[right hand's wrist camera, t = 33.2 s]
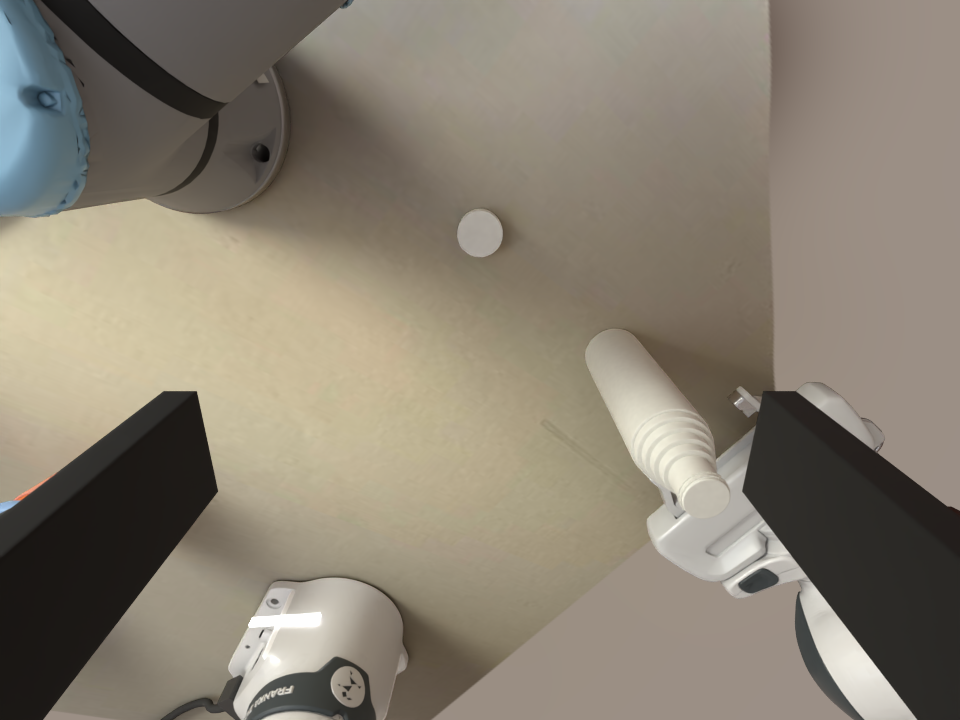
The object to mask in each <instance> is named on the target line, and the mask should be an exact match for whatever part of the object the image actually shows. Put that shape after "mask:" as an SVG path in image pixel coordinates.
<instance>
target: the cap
mask: <svg viewBox="0 0 960 720" xmlns="http://www.w3.org/2000/svg"><path fill="white" fill-rule="evenodd" d="M457 238H458V242H459V244H460V246H461V248H462V249H463V250H464V251H465V252H466V253H468V254H469V255H471V256H474V257H486V256H489V255H491V254H492V253H494V252H495V251H496V250H497V249H498V248H499V246H500V244H501V242H502V238H503V230H502V226H501V223H500V221H499V219H498V217H497V216H496V215H495V214H494V213H492V212H491V211H489V210H486V209H474V210H471V211H469V212H468V213H466V214H465V215H464V216H463V217H462V219H461V220H460V223H459V226H458V230H457Z"/></svg>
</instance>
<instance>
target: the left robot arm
mask: <svg viewBox="0 0 960 720" xmlns="http://www.w3.org/2000/svg"><path fill="white" fill-rule="evenodd" d="M796 392H798V393H799V394H800V395H802V396H803V397H804V398H806V399H807V400H808V401H810V402H811V403H812V404H814V405H815V406H816V407H817V408H819V409H820V410H821V411H823V412H824V413H825V414H827V415H828V416H829V417H831V418H832V419H833V420H834V421H836V422H837V423H838V424H840V425H841V426H842V427H844V428H845V429H846V430H848V431H849V432H850V433H852V434H853V435H854V436H855V437H857V438H858V439H859V440H861V441H862V442H863V443H865V444H866V445H867V446H869V447H870V448H871V449H872V450H874V451H875V452H876V453H877V452H878V451H879V450H880V449H881V447H882V445H883V442H884V440H885V437H884V435H883V433H882V431H881V430H880V429H879V428H878V427H877V426H876V425H875V424H874V423H873V422H872V421H870V420H868V419H865V418H860V416H859V415H858V414H857V413H856V411H855V410H854V409H853V408H852V407H851V406H850V404H849V403H848V402H847V401H846V400H845V399H844V398H843V397H841V396H840V395H839V394H838V393H836V392H835V391H834V390H832V389H831V388H829V387H828V386H826V385H825V384H823V383H816V382H808V383H805V384H804V385H802V386H801V387H800V388H799V389H798V390H796ZM727 398H728V399H729V400H730V401H731V402H732V403H733V404H734V405H735V406H736V407H737V408H738V409H739V410H741V411H742V412H743V413H744V414H745V415H746V416H747V417H750V416H751V415H752V414H753V413H755V412H756V411H757V412H759V409H760V404H761V399H762V397H761V396H751V395H750V394H749V393H748V392H747V391H746V390H745V389H744V388H743V387H741V386H739V387H738V388H737V389H736V390H735V391H734V392H733V393H732V394H730V395H729V396H728V397H727ZM755 428H756V425H755V426H754V427H753V428H752V429H751V430H750V431H749V432H747V433H746V434H745V435H744V436H743V437H741V438H740V439H739V440H738V441H737V442H736V443H734V444H733V445H732V446H731V447H730V448H729V449H727V450H726V451H725V452H724V453H723V454H722V455H720V456H719V457H718V458H717V459H716V466H717V473H718V474H719V475H721V476H722V477H721V478H722V479H724V480H725V481H726V483H727V484H728V486H729V488H730V501H729V504H728V506H727V507H726V508H725V510H724V511H722V512H721V513H720V514H718V515H716V516H714V517H711V518H706V519H700V518H695V517H693V516H691V515H689V514H688V513H687V512H686V511H685V510H682V507H681V506H680V504H679V502H678V497H677V496H676V494H675V493H673V492H671V491H670V490H668V489H666V488H664V487H663V486H661V485H660V484H658V483H656V482H655V481H654V480H652V479H650V478H649V477H648V478H649V479H650V481H651V482H652V483H653V484H655V485H656V486H657V487H658V488H659V492H660V496H661V498H662V500H663V502H664V504H663V505H662V506H661V507H660V508H658V509H657V510H656V511H655V512H654V513H653V514H651V515H650V516H649V517H648V518H647V529H648V534H649V536H650V539H651V541H652V543H653V545H654V547H655V548H656V550H657V551H658V552H659V553H660V554H661V555H662V556H664V557H665V558H666V559H668V560H669V561H670V562H672V563H673V564H675V565H676V566H678V567H680V568H681V569H683V570H685V571H686V572H688V573H690V574H692V575H693V576H695V577H697V578H699V579H702V580H705V581H710V582H719V581H720V582H721V584H722V585H723V586H724V588H725V589H726V590H727V591H728V593H729V594H730V595H732V596H733V597H735V598H738V599H742V598H746V597H749V596H751V595H754V594H756V593H758V592H761V591H763V590H766V589H769V588H771V587H774V586H777V585H780V584H784V583H788V582H792V581H796V580H797V581H798V582H799V584H800V586H801V589H802V590H801V592H798V595H797V600H796V612H795V630H796V637H797V642H798V646H799V649H800V652H801V655H802V657H803V660H804V662H805V665H806V667H807V669H808V671H809V673H810V674H811V676H812V677H813V679H814V680H815V682H816V683H817V685H818V686H819V687H820V689H821V690H822V691H823V692H824V693H825V694H826V696H827V697H828V698H829V699H830V700H831V701H832V702H833V703H834V704H836V705H837V706H838V707H839V708H840V709H841V710H842V711H844V712H845V713H846V714H847V715H849V716H850V717H851V718H852V719H854V720H917V719H916V718H915V716H914V715H913V714H912V712H911V711H910V710H909V709H908V707H907V706H906V705H905V703H904V702H903V701H902V699H901V698H900V697H899V696H898V694H897V693H896V692H895V690H894V689H893V688H892V686H891V685H890V684H889V682H888V681H887V680H886V679H885V677H884V676H883V675H882V673H881V672H880V671H879V669H878V668H877V667H876V666H875V664H874V663H873V662H872V660H871V659H870V658H869V656H868V655H867V654H866V653H865V651H864V650H863V649H862V647H861V646H860V645H859V643H858V642H857V641H856V639H855V638H854V637H853V636H852V634H851V633H850V632H849V630H848V629H847V628H846V626H845V625H844V624H843V623H842V621H841V620H840V619H839V617H838V616H837V615H836V613H835V612H834V611H833V609H832V608H831V607H830V606H829V604H828V603H827V602H826V600H825V599H824V598H823V596H822V595H821V594H820V593H819V591H818V590H817V589H816V587H815V586H814V585H813V583H812V582H811V581H810V579H809V578H808V577H807V576H806V574H805V573H804V572H803V570H802V569H801V568H800V566H799V565H798V564H797V563H796V561H795V560H794V559H793V557H792V556H791V555H790V553H789V552H788V551H787V550H786V548H785V547H784V546H783V544H782V543H781V542H780V540H779V539H778V538H777V536H776V535H775V534H774V533H773V531H772V530H771V529H770V527H769V526H768V525H767V523H766V522H765V521H764V520H763V518H762V517H761V516H760V514H759V513H758V512H757V510H756V509H755V508H754V506H753V505H752V504H751V503H750V501H749V500H748V499H747V497H746V496H745V495H744V493H743V492H742V489H743V484H744V479H745V475H746V470H747V465H748V461H749V456H750V451H751V446H752V442H753V437H754V432H755ZM402 638H403V622H402V618H401V615H400V613H399V611H398V609H397V608H396V606H395V605H394V603H393V602H392V601H391V600H390V599H389V598H388V597H387V596H386V595H385V594H383V593H382V592H380V591H379V590H377V589H376V588H374V587H372V586H370V585H368V584H365V583H363V582H360V581H356V580H352V579H347V578H321V579H316V580H312V581H307V582H291V581H276V582H274V583H272V584H271V585H270V587H269V589H268V591H267V593H266V594H265V596H264V598H263V600H262V602H261V604H260V606H259V607H258V609H257V611H256V613H255V615H254V617H252V619H251V621H250V623H249V626H248V628H247V630H246V632H245V634H244V636H243V637H242V639H241V641H240V643H239V645H238V647H237V649H236V650H235V652H234V654H233V656H232V658H231V661H230V664H229V666H228V669H229V671H230V673H231V675H232V676H233V677H234V678H233V679H231V680H229V681H228V682H227V684H226V686H225V688H224V690H223V692H222V694H221V696H220V699H219V701H218V703H217V705H215V704H213V702H212V701H211V700H210V699H208V698H203V699H198V700H195V701H192V702H189V703H187V704H185V705H182V706H180V707H178V708H177V709H175V710H174V711H172V712H171V713H169V714H168V715H166V716H165V717H164V718H162V719H161V720H173V719H174V718H176V717H177V716H179V715H180V714H182V713H184V712H186V711H189V710H191V709H194V708H197V707H202V706H205V707H206V710H207V711H208V712H210V713H220V712H224V711H225V712H227V713H228V714H229V715H230V716H231V717H233V718H234V719H235V720H384V719H385V718H386V715H387V712H388V708H389V704H390V700H391V696H392V692H393V688H394V683H395V679H396V675H397V674H399V673H401V672H402V671H404V670H405V669H406V667H407V664H408V659H409V658H408V654H407V652H406V649H405V647H404V645H403V641H402Z"/></svg>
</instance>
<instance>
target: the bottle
mask: <svg viewBox="0 0 960 720" xmlns="http://www.w3.org/2000/svg"><path fill="white" fill-rule="evenodd" d="M585 362H586V365H587V367H588V370H589V372H590V374H591V376H592V378H593V380H594V382H595V384H596V386H597V388H598V390H599V392H600V394H601V396H602V398H603V400H604V402H605V404H606V406H607V408H608V410H609V412H610V414H611V416H612V418H613V420H614V422H615V424H616V426H617V428H618V430H619V432H620V434H621V436H622V438H623V440H624V442H625V444H626V446H627V448H628V450H629V452H630V454H631V457H632V459H633V460H634V462H635V464H636V465H637V467H638V468H639V469H640V470H641V471H642V472H643V473H644V474H645V475H646V476H647V477H649V478H650V479H652V480H654V481H655V482H656V483H658V484H660V485H661V486H663V487H664V488H666V489H668V490H670V491H671V492H673V493H675V494H676V496H677V497H678V502H679V504H680V506H681V507H682V510H685V511H686V512H687V513H688V514H689V515H691V516H693V517H695V518H700V519H706V518H711V517H714V516H716V515H718V514H720V513H721V512H722V511H724V510H725V508H726V507H727V506H728V504H729V501H730V488H729V486H728V484H727V483H726V481H725V480H724V479H722V478H721V477H722V476H721V475H719V474H718V473H717V466H716V456H715V447H714V439H713V436H712V433H711V432H710V428H709V426H708V424H707V423H706V421H705V420H704V419H703V418H702V417H701V415H700V414H699V413H698V412H697V410H696V409H695V408H694V407H693V406H692V404H691V403H690V402H689V401H688V400H687V398H686V397H685V396H684V395H683V394H682V392H681V391H680V390H679V389H678V388H677V386H676V385H675V384H674V383H673V382H672V380H671V379H670V378H669V377H668V376H667V374H666V373H665V372H664V371H663V370H662V368H661V367H660V366H659V365H658V364H657V362H656V361H655V360H654V359H653V358H652V356H651V355H650V354H649V353H648V352H647V350H646V349H645V348H644V347H643V345H642V344H641V343H640V342H639V341H638V339H637V338H636V337H635V336H634V335H633V334H632V333H630V332H628V331H626V330H623V329H608V330H605V331H602V332H600V333H599V334H597V335H596V336H595V337H594V338H593V339H592V340H591V341H590V342H589V344H588V346H587V349H586V352H585Z"/></svg>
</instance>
